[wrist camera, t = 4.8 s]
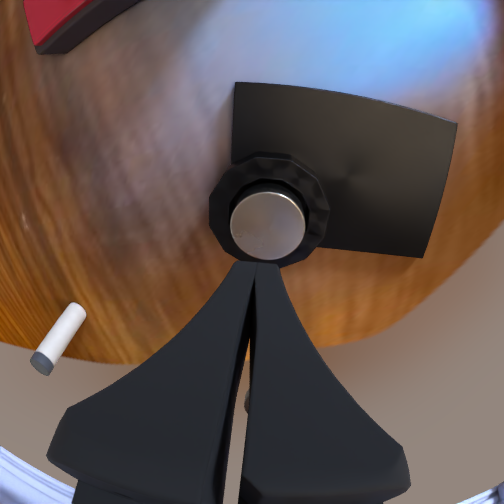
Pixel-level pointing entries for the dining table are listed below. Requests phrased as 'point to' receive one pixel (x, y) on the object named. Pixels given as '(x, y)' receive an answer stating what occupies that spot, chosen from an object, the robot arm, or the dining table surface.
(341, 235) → the dark fan-shaped plate
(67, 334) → the white grey-capped cylinder
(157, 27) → the dining table surface
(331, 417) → the robot arm
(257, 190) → the button
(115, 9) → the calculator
